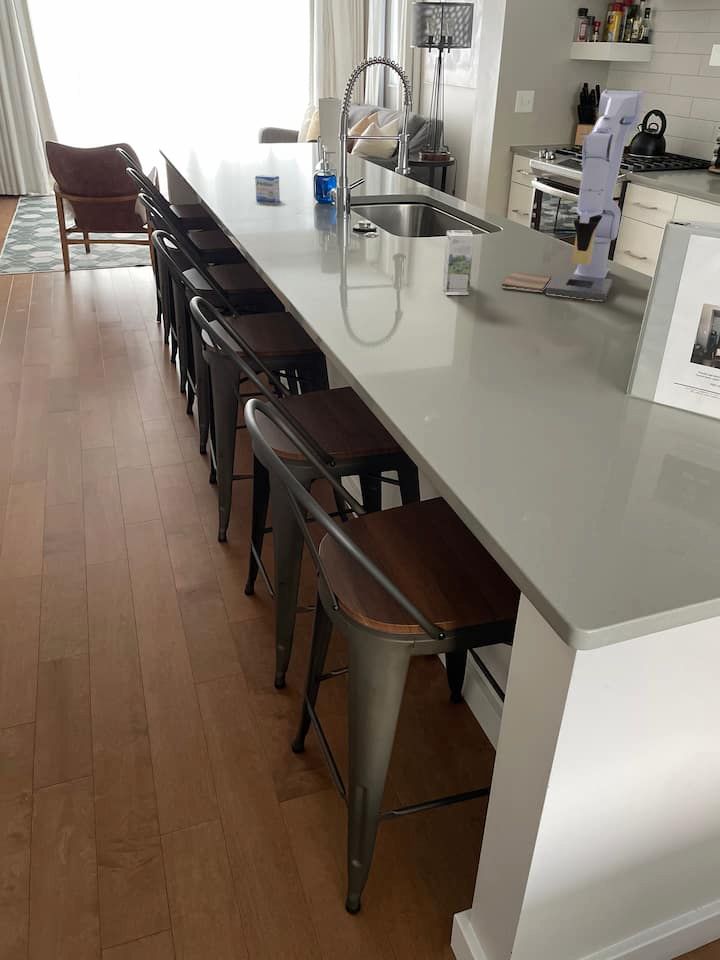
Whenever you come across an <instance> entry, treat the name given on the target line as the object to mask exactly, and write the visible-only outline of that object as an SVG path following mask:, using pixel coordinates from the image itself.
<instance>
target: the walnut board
mask: <svg viewBox="0 0 720 960" xmlns="http://www.w3.org/2000/svg"><path fill="white" fill-rule="evenodd" d="M552 278H553V277H552V276H550V275H543V274H532V273H531V274H530V273H524V272H515V271H513V272H512V273H511V274H510V275H509V276H508V277H506V279H505V281H503V282H502V283H501V284H502V285H501V287H502V286H505V287H516V288H524V289H531V290H539V291H543V289H544V288H545V287H546V285H547V284H548V283H549V281H550V280H552ZM543 292H544V291H543Z"/></svg>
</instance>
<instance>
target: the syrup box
mask: <svg viewBox="0 0 720 960" xmlns="http://www.w3.org/2000/svg"><path fill="white" fill-rule="evenodd" d="M445 240H446V241H445V252H444V253H445V256H444V268H443V283H442V288H443V287H444V289H445V291H446V292H469V293H470V286H471V285H470V284H471V275H472V264H473V253H474V250H473V249H474V242H475V241H474V240H475V237H474V235H473V232H472V231H471V230H469V229H468V230H467V229H466V230H458V229H457V230H455V229H454V230H449V229H448V230H446V239H445ZM444 289H443V290H444Z"/></svg>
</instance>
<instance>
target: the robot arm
mask: <svg viewBox="0 0 720 960" xmlns="http://www.w3.org/2000/svg"><path fill="white" fill-rule="evenodd" d="M644 100H645V94H644V92H643V90H640V91H635V90H634V91H632V90H608V89H605V90H603V92H602V93H601V95H600V98H599V105H598V119H597V120H596V122H595V124H594V126H593V129H592V130H591V132H590V133H589V134H586V135H585V137H584V139H583V143H582V149H581V150H582V152H581V154H582V155H581V158H582V160H581V168H582V171H581V177H580V185H579V193H578V198H577V206H572V207H571V212H575V213H577V214H578V215H577V218H574V219H573V226H574V229H575V233H576V234H577V249H578V251H587V249H588V247H589V244H590V240H591V237H592V234H593V232H594V230H595V228H596V233H595V240H594V246H593V253H592V259H591V262H590V264H589V265H585V264H577V268H576V269H575V270H574V273H573V275H577V276H586V277H596V278H604V279H606V277H607V275H608V272H609V270H610V269H609V268H607V263H608V257H609V251H610V245H611V241H614V240H615V239H616V238H617V236H618V233H619V229H620V221H621V217H622V216H621V214H622V211H621V208H620V206H618V205H617V203H615V202H614V201H613V200H614V195H615V192H616V191H615V190H616V186H617V183H618V178H619V177H618V176H619V173H620V168H621V164H622V163H621V162H622V159H623V154H624V149H625V145H626V142H627V140H628V137H629V136H630V135H631V134H632V133H633V132H634V133H635V131H637V130H638V126H639V125H640V119H641V116H642V111H643V108H644ZM576 234H575V235H576Z"/></svg>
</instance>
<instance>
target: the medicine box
mask: <svg viewBox="0 0 720 960" xmlns="http://www.w3.org/2000/svg"><path fill="white" fill-rule="evenodd" d="M254 178H255V182H254V183H255V200H256V201H257V202H269V203H270V202H271V203H276V202H279V201H280V198H281V197H280V177H279V176H277V175H265V174H259V175H256V176H255V177H254Z"/></svg>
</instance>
